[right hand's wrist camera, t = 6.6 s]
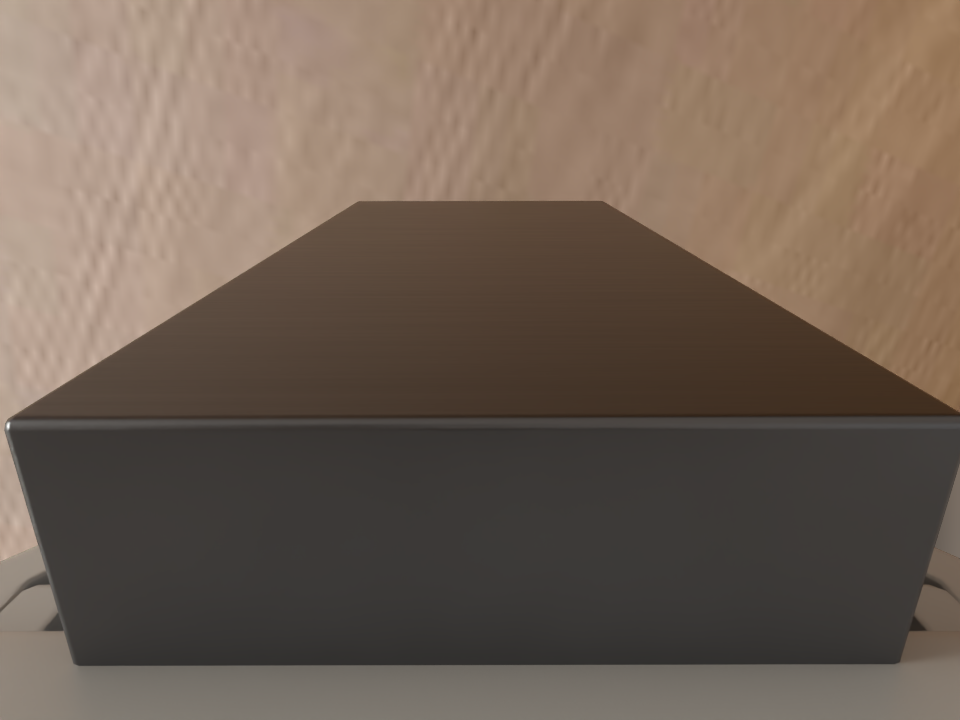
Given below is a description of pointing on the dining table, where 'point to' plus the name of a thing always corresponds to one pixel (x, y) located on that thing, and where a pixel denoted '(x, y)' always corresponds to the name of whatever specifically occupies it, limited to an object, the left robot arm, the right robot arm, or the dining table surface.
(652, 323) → the box
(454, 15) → the dining table surface
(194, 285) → the dining table surface
